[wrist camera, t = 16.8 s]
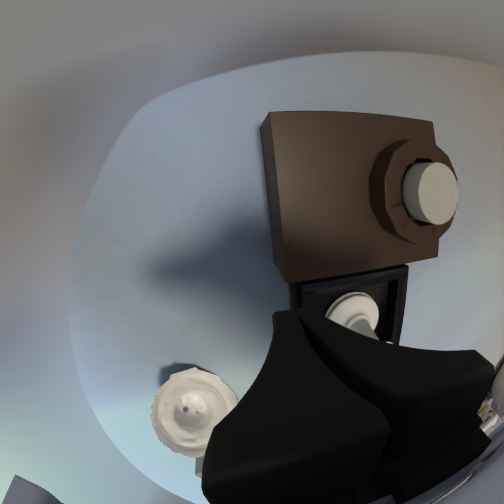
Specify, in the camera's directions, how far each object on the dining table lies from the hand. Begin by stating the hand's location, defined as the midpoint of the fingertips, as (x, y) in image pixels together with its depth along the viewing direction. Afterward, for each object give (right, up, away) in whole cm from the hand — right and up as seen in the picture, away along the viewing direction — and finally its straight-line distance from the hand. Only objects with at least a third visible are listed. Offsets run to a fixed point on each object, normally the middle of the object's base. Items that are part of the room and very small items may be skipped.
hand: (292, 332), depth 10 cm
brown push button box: (+6, +8, +9) cm, 13 cm away
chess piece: (+7, -2, +11) cm, 13 cm away
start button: (+9, +7, +4) cm, 12 cm away
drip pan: (+7, -2, +12) cm, 14 cm away
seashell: (-7, -10, +13) cm, 17 cm away
